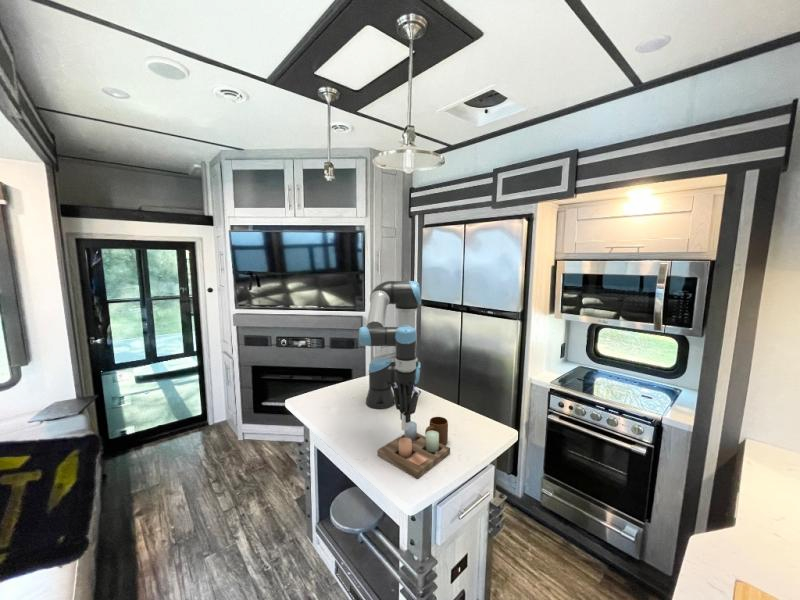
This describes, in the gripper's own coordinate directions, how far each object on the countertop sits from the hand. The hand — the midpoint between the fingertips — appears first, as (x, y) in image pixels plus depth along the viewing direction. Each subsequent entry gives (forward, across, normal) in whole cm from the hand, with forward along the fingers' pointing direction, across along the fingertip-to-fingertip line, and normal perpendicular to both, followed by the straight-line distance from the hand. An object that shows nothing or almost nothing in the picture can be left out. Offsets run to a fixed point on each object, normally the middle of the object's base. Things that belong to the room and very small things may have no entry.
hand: (405, 429), depth 124 cm
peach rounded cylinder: (+11, 0, 0) cm, 11 cm away
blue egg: (+9, -5, +9) cm, 14 cm away
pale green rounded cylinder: (+9, +6, +9) cm, 14 cm away
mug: (+12, +3, +15) cm, 20 cm away
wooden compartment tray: (+12, +1, +4) cm, 12 cm away
